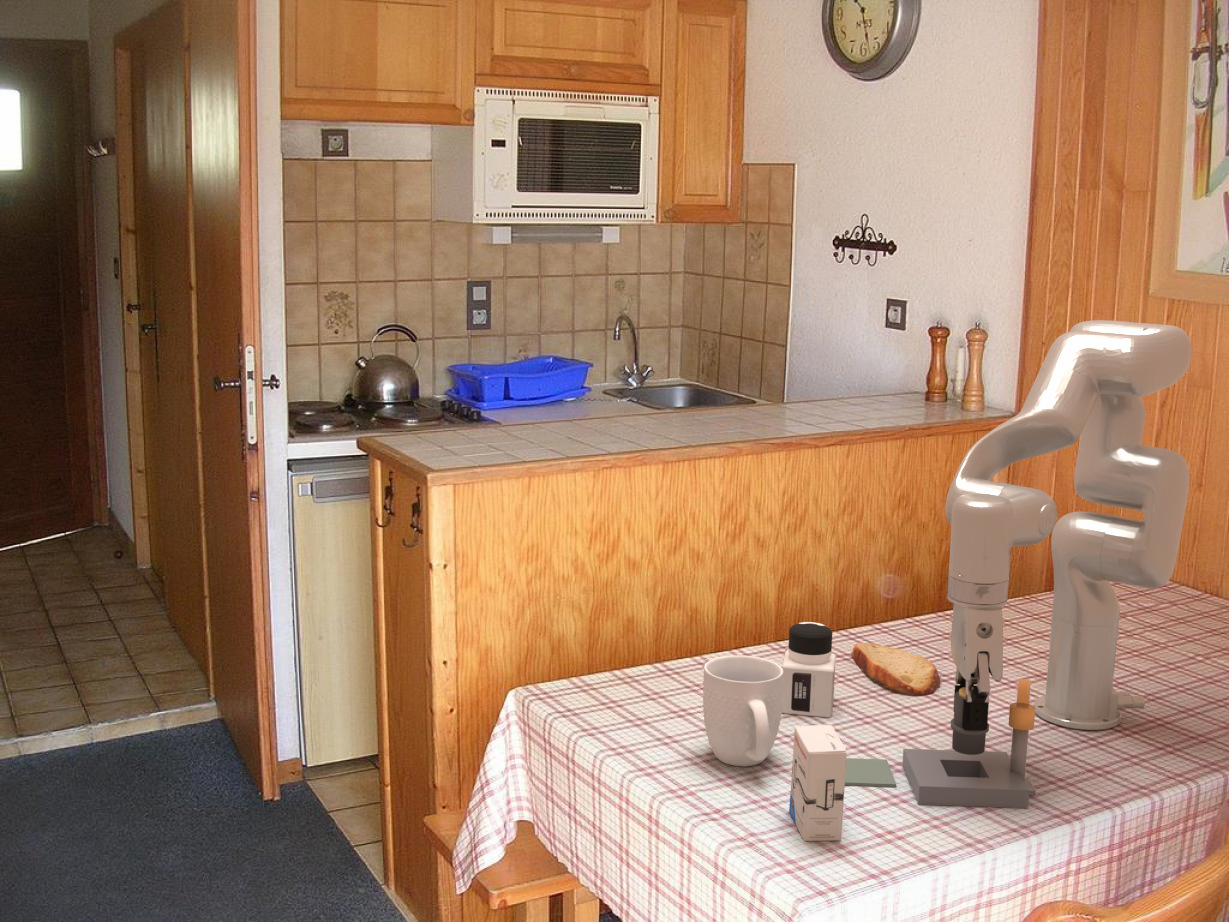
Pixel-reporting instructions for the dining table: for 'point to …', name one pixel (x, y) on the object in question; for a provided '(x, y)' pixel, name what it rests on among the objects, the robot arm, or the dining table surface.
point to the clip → (1022, 708)
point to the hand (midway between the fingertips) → (970, 720)
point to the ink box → (818, 782)
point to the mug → (742, 707)
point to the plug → (966, 739)
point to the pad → (868, 773)
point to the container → (809, 671)
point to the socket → (970, 776)
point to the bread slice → (897, 669)
